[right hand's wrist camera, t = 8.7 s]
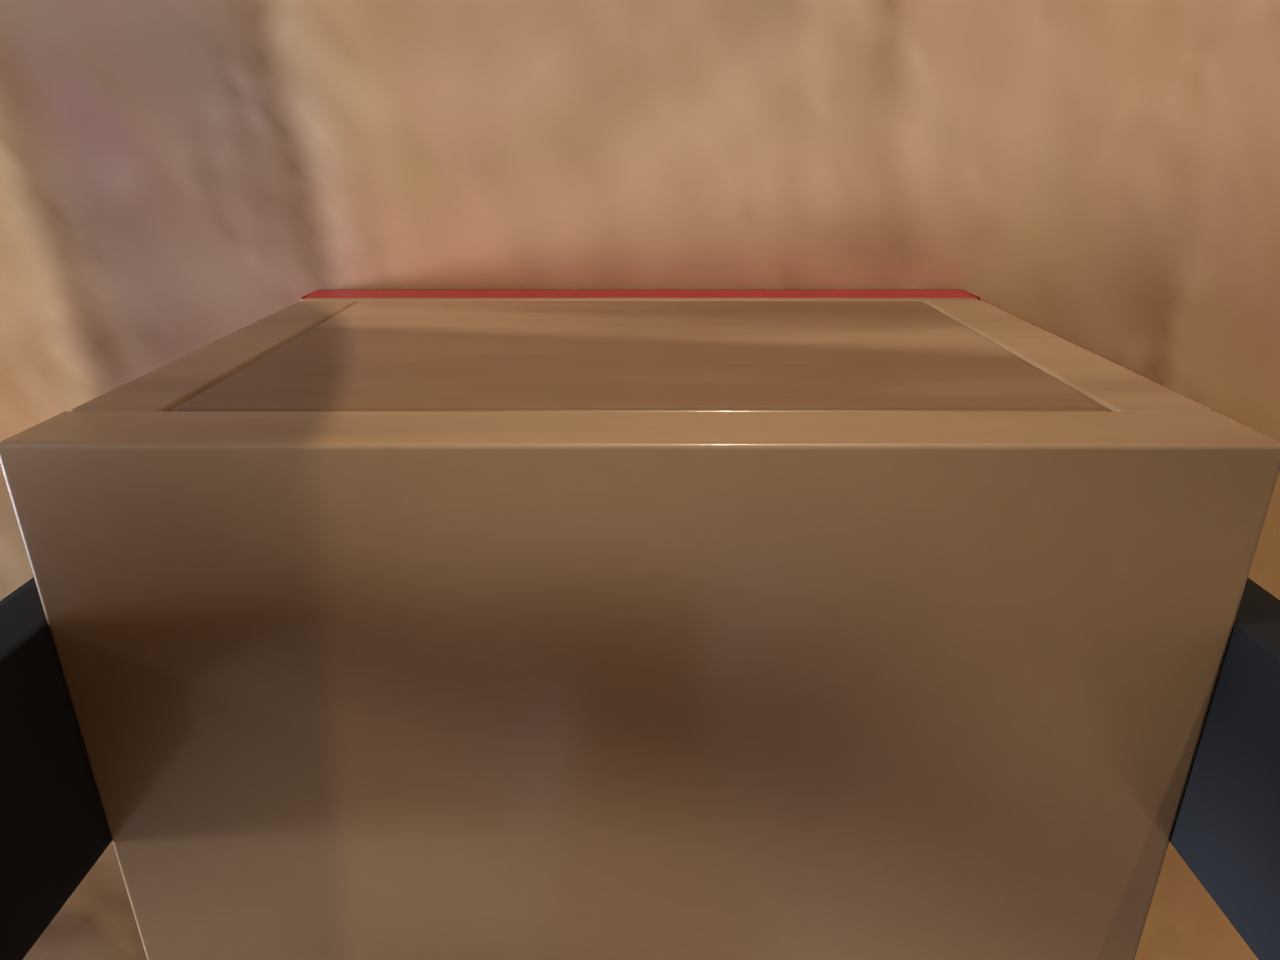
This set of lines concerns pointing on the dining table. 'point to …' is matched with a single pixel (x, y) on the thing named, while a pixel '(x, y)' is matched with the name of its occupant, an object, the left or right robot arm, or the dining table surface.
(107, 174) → the dining table surface
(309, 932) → the cabinet
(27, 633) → the right robot arm
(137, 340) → the dining table surface
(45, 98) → the dining table surface
